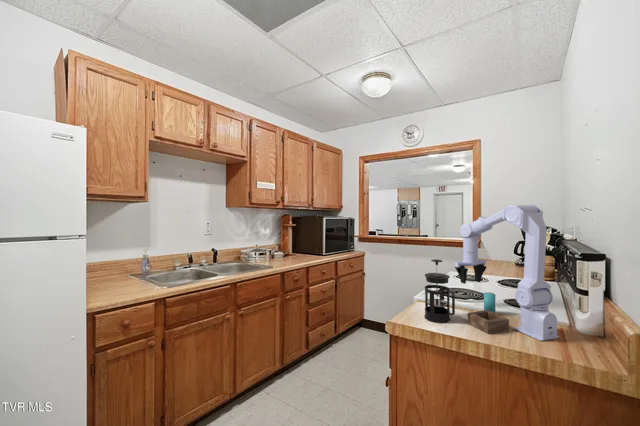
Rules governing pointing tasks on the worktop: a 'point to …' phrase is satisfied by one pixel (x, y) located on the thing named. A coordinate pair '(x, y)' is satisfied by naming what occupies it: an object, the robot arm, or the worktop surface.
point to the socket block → (488, 321)
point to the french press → (436, 307)
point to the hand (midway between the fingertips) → (470, 282)
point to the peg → (489, 302)
